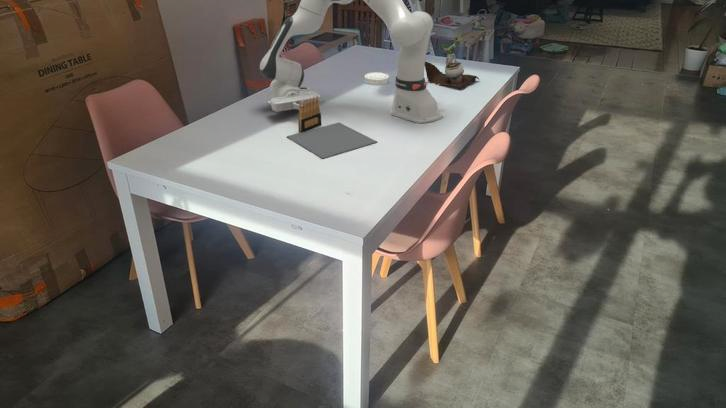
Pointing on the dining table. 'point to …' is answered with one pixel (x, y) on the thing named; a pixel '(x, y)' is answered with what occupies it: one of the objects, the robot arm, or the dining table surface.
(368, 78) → the mooncake
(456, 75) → the potted plant
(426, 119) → the robot arm
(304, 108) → the ammunition clip
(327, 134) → the slate mat
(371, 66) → the dining table surface
